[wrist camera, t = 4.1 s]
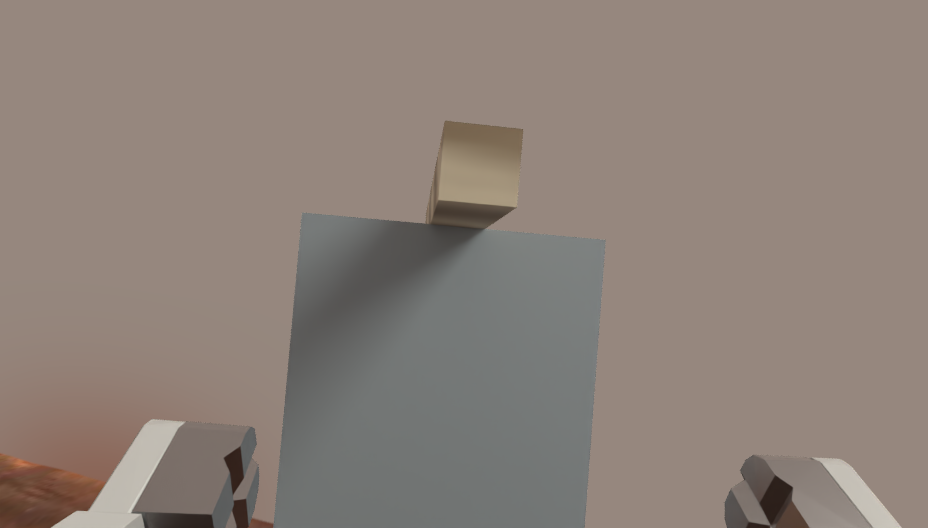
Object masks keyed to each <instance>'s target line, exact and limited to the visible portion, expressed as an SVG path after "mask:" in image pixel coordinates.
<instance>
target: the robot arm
mask: <svg viewBox="0 0 928 528" xmlns="http://www.w3.org/2000/svg"><path fill="white" fill-rule="evenodd" d="M255 447H256V435H255V429H254V428H253V427H249V426H237V425H224V424H212V423H199V422H188V421H186V422H181V421H168V420H156V419H152V420H150V421H149V422H148V423H146V424H145V425H144V426H143V427H142V428H141V430H140V431H139V433H138V434H137V436H136V437H135V439H134V440H133V442H132V443H131V445H130V447H129V448H128V450H127V451H126V453H125V454H124V456H123V457H122V459H121V460H120V462H119V464H118V465H117V467H116V468H115V470H114V471H113V473H112V475H111V476H110V478H109V479H108V481H107V482H106V484H105V485H104V487H103V488H102V490H101V491H100V493H99V495H98V496H97V498H96V499H95V501H94V502H93V504H92V505H91V507H90V508H89V510H88V511H76V512H74V513H73V514H71V515H70V516H68V517H66V518H65V519H63V520H62V521H60V522H59V523H57V524H56V525H54V526H53V527H51V528H248V527H249V524H250V521H251V518H252V515H253V512H254V508H255V503H256V498H257V493H258V485H259V467H258V464H257V463H256V462H255V461H254V460H253V459H252V455H253V453H254V450H255ZM740 471H741V474H742V476H743V478H744V480H743V481H742V482H740V483H739V484H737V485H736V486H734V487H733V488H731V490H730V492H729V495H728V496H727V499H726V501H725V521H726V525H727V528H901V526H900V525H899V524H898V523H897V522H896V520H895V519H894V518H893V517H892V515H891V514H890V513H889V512H888V511H887V509H886V508H885V507H884V506H883V505H882V503H881V502H880V501H879V500H878V498H877V497H876V496H875V495H874V494H873V492H872V491H871V490H870V489H869V488H868V486H867V485H866V484H865V483H864V481H863V480H862V479H861V478H860V477H859V475H858V474H857V473H856V472H855V471H854V469H853V468H852V467H851V466H850V465H848V464H847V463H846V462H844V461H843V460H841V459H830V458H806V457H790V456H769V455H752V456H751V457H749V458H748V459H746V460H745V462H744V464H743V466H742V468H741V470H740Z"/></svg>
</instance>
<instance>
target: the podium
mask: <svg viewBox="0 0 928 528" xmlns="http://www.w3.org/2000/svg"><path fill="white" fill-rule="evenodd" d="M604 254H605V240H599V239H588V238H577V237H566V236H555V235H544V234H533V233H522V232H511V231H500V230H489V229H478V228H466V227H455V226H444V225H433V224H422V223H410V222H400V221H389V220H378V219H366V218H355V217H345V216H344V217H343V216H333V215H322V214H311V213H302V219H301V230H300V242H299V252H298V264H297V274H296V286H295V296H294V308H293V319H292V329H291V341H290V352H289V363H288V374H287V385H286V396H285V407H284V418H283V429H282V441H281V451H280V462H279V474H278V484H277V495H276V506H275V517H274V528H584V527H585V512H586V500H587V485H588V472H589V459H590V445H591V432H592V418H593V404H594V391H595V377H596V363H597V349H598V335H599V323H600V308H601V296H602V282H603V268H604Z"/></svg>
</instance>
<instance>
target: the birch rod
mask: <svg viewBox="0 0 928 528" xmlns="http://www.w3.org/2000/svg"><path fill="white" fill-rule="evenodd" d="M522 138H523V129H516V128H507V127H498V126H489V125H479V124H469V123H461V122H451V121H445V123H444V128H443V133H442V138H441V143H440V148H439V152H438V157H437V162H436V167H435V172H434V177H433V182H432V187H431V192H430V197H429V202H428V207H427V212H426V224H433V225H444V226H455V227H466V228H478V229H485V228H487V227H488V226H490V225H491V224H493V223H494V222H496V221H497V220H499V219H500V218H502V217H503V216H505V215H506V214H508V213H509V212H511V211H512V210H514V209H515V208H517V201H518V188H519V176H520V162H521V150H522Z"/></svg>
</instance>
